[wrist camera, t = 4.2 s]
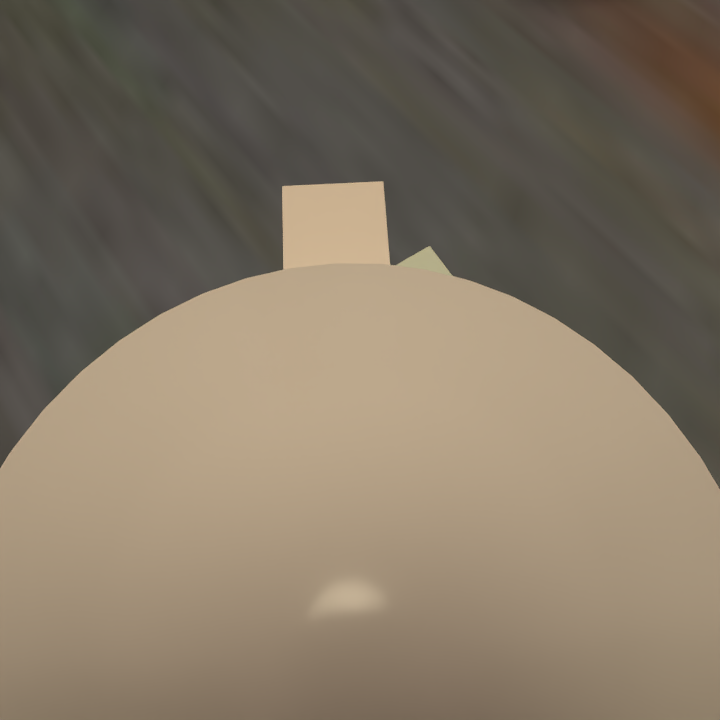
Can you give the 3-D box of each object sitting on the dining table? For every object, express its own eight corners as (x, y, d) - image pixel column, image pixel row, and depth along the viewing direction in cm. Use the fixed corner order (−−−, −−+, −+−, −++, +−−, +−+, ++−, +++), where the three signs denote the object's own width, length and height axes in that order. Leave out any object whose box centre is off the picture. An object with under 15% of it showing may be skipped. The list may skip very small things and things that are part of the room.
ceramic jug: (507, 724, 13) (929, 1213, 3) (222, 742, 13) (-185, 1306, 3) (466, 382, 15) (637, 110, 6) (228, 395, 15) (13, 137, 6)
